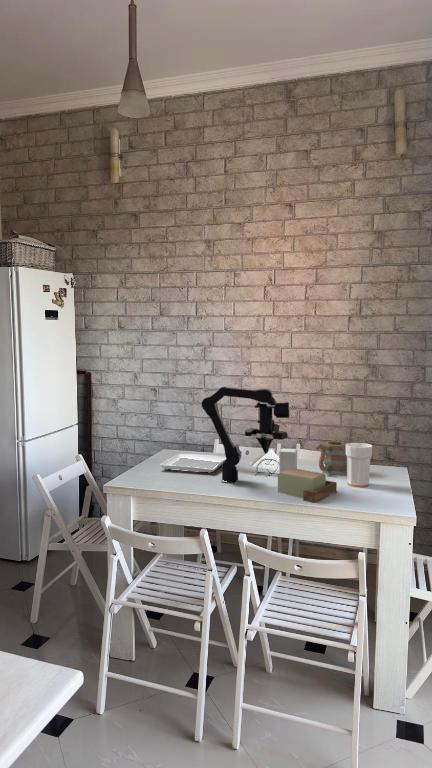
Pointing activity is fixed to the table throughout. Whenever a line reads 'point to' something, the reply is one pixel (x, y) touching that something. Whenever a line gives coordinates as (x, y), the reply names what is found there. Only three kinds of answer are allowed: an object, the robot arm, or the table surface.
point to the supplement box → (287, 459)
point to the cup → (358, 464)
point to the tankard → (333, 458)
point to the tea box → (299, 481)
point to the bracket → (320, 492)
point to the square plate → (169, 462)
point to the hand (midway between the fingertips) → (266, 453)
